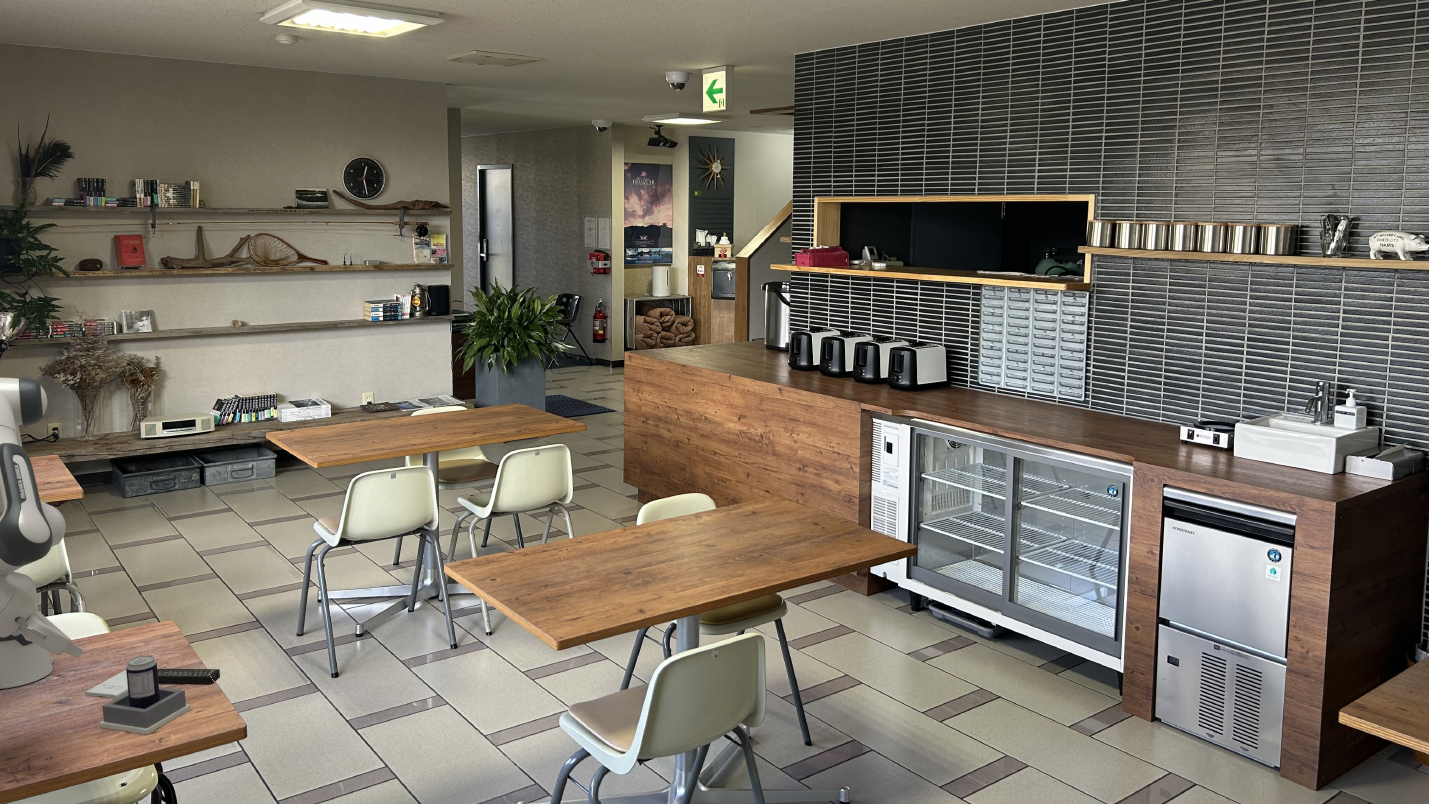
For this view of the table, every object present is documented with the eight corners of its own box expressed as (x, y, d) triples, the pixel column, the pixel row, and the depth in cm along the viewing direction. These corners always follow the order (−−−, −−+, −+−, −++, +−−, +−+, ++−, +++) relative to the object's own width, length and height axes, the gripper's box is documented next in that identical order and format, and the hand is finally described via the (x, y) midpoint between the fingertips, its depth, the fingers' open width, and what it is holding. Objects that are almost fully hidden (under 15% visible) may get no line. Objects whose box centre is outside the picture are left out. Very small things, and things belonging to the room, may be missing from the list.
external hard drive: (157, 678, 242) (116, 701, 230) (126, 675, 244) (84, 697, 232) (156, 671, 242) (116, 694, 230) (126, 668, 243) (84, 690, 231)
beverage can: (167, 710, 222) (162, 656, 220) (143, 721, 217) (138, 667, 215) (148, 705, 224) (143, 652, 222) (124, 716, 219) (119, 662, 217)
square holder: (99, 727, 217) (97, 706, 216) (145, 702, 228) (143, 682, 228) (147, 734, 214) (145, 714, 213) (190, 709, 225) (189, 689, 224)
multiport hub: (159, 677, 242) (158, 668, 242) (221, 678, 242) (220, 668, 241) (148, 685, 238) (147, 676, 237) (211, 686, 237) (211, 676, 237)
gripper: (37, 612, 195) (100, 647, 203) (8, 586, 209) (68, 620, 217) (12, 641, 192) (77, 675, 201) (-16, 613, 206) (46, 646, 215)
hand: (72, 646), depth 209 cm, fingers open, 8 cm apart
